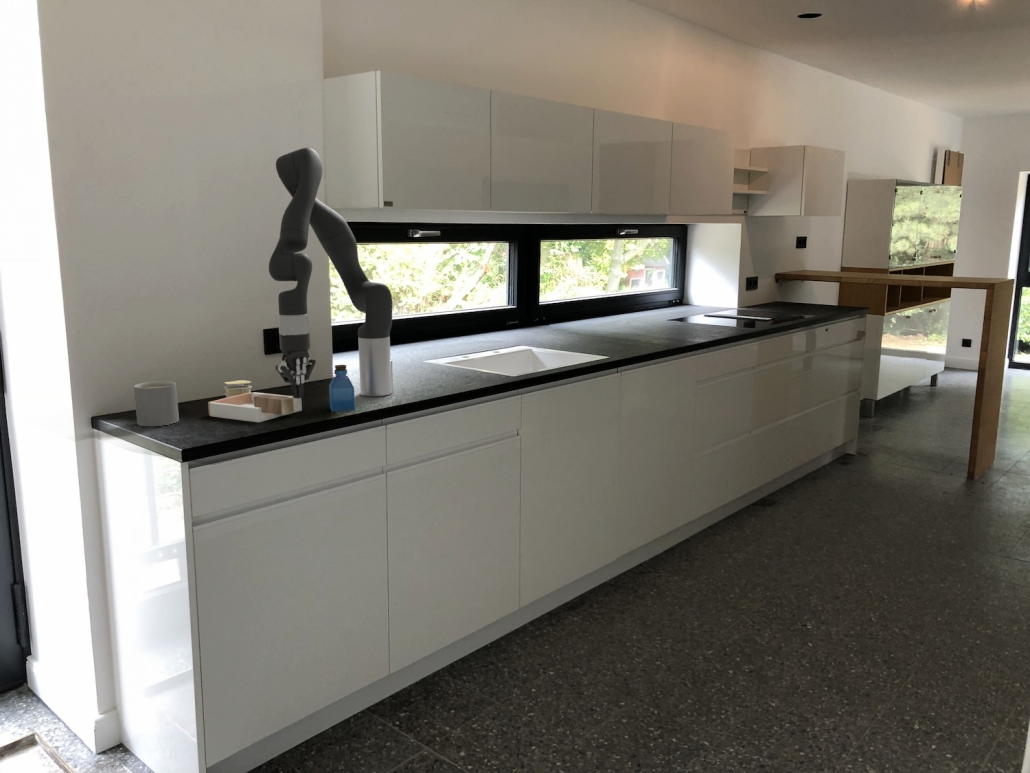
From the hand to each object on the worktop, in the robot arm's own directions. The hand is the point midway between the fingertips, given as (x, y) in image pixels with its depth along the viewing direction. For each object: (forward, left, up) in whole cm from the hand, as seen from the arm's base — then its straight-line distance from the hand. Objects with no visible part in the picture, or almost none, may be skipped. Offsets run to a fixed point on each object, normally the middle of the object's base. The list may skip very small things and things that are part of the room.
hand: (297, 397), depth 221 cm
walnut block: (0, -3, -2) cm, 4 cm away
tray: (0, -15, -6) cm, 16 cm away
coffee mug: (+18, -30, -6) cm, 35 cm away
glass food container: (-12, -33, -6) cm, 36 cm away
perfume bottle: (-15, +2, -6) cm, 16 cm away
